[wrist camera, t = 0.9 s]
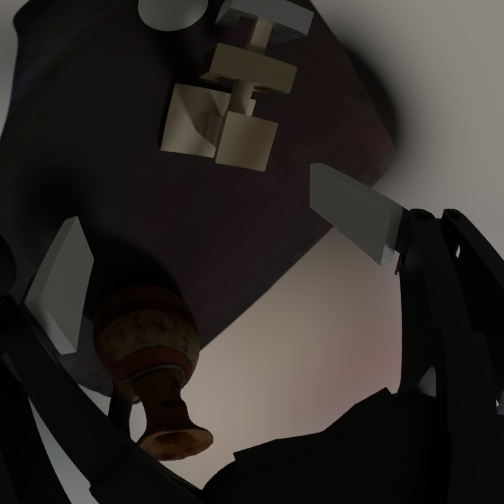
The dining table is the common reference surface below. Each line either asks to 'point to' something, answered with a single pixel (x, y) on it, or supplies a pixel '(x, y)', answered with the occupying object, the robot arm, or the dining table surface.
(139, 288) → the ceramic pitcher
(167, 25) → the felt pad
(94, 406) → the robot arm
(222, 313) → the dining table surface
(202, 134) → the peg stand
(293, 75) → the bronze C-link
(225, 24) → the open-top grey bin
